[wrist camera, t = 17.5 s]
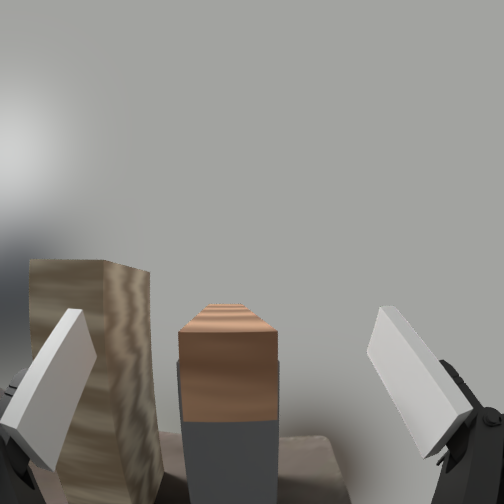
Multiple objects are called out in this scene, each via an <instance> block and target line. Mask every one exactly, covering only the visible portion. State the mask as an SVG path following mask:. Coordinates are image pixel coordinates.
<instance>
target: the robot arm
mask: <svg viewBox="0 0 504 504" xmlns="http://www.w3.org/2000/svg"><path fill="white" fill-rule="evenodd" d="M366 353H367V355H368V356H369V358H370V360H371V362H372V364H373V365H374V367H375V369H376V371H377V372H378V374H379V376H380V378H381V380H382V382H383V383H384V385H385V387H386V389H387V391H388V393H389V394H390V396H391V398H392V400H393V402H394V404H395V406H396V407H397V409H398V411H399V413H400V415H401V417H402V419H403V421H404V422H405V425H406V426H407V428H408V430H409V432H410V434H411V436H412V438H413V440H414V442H415V444H416V446H417V448H418V450H419V452H420V454H421V456H422V458H423V459H425V458H427V457H430V456H433V455H435V454H437V453H439V452H440V451H441V449H442V448H443V447H444V446H445V445H446V446H447V448H448V449H449V450H448V451H447V452H446V453H445V454H444V456H442V457H441V459H440V460H439V461H438V462H437V465H438V466H439V465H440V463H441V462H442V461H443V460H444V462H443V465H442V469H441V473H440V477H439V481H438V483H437V487H436V490H435V493H434V496H433V499H432V503H431V504H504V414H501V413H500V412H498V411H497V410H496V409H494V408H491V407H485V408H484V407H483V406H482V405H481V404H480V402H479V401H478V400H477V398H476V397H475V395H474V394H473V393H472V391H471V390H470V389H469V387H468V386H467V385H466V383H464V381H463V379H462V378H461V377H459V374H458V373H457V372H456V370H455V369H454V368H453V367H452V366H451V365H450V364H448V363H447V362H446V361H444V360H440V361H438V360H437V358H436V357H435V356H434V354H433V353H432V352H431V350H430V349H429V348H428V346H427V345H426V344H425V343H424V341H423V340H422V339H421V338H420V336H419V335H418V334H417V333H416V331H415V330H414V329H413V328H412V326H411V325H410V324H409V323H408V322H407V320H406V319H405V318H404V317H403V315H402V314H401V313H400V312H399V311H398V309H397V308H396V307H395V306H394V305H391V306H380V309H379V313H378V316H377V320H376V323H375V327H374V330H373V334H372V336H371V340H370V343H369V346H368V349H367V352H366ZM96 358H97V355H96V352H95V349H94V346H93V343H92V340H91V337H90V334H89V330H88V327H87V324H86V320H85V317H84V313H83V310H82V309H69V308H68V309H67V311H66V312H65V314H64V315H63V317H62V318H61V320H60V321H59V322H58V324H57V325H56V327H55V328H54V330H53V331H52V333H51V334H50V336H49V337H48V339H47V340H46V342H45V344H44V345H43V347H42V348H41V350H40V351H39V353H38V355H37V356H36V358H35V359H34V361H33V363H32V364H31V366H30V368H29V369H25V368H23V369H22V370H20V371H19V372H18V373H17V374H16V375H15V376H14V377H13V379H12V381H11V382H10V384H9V387H7V389H6V391H5V392H4V393H5V394H3V396H2V398H1V399H0V504H46V502H45V500H44V498H43V496H42V494H41V492H40V489H39V487H38V485H37V482H36V480H35V478H34V475H33V473H32V470H31V468H30V467H29V465H28V463H29V461H30V459H31V460H32V462H33V463H34V464H35V465H36V466H37V467H40V468H42V469H45V470H48V471H51V472H54V471H55V467H56V464H57V461H58V458H59V455H60V452H61V449H62V446H63V443H64V440H65V437H66V434H67V431H68V429H69V426H70V423H71V420H72V418H73V415H74V412H75V410H76V407H77V404H78V402H79V399H80V397H81V394H82V392H83V389H84V387H85V384H86V382H87V380H88V377H89V375H90V372H91V370H92V368H93V365H94V363H95V361H96Z"/></svg>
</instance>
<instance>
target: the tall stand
mask: <svg viewBox="0 0 504 504" xmlns="http://www.w3.org/2000/svg"><path fill="white" fill-rule="evenodd" d="M68 308H69V309H82V310H83V313H84V317H85V320H86V324H87V327H88V330H89V334H90V337H91V340H92V343H93V346H94V349H95V352H96V355H97V358H96V361H95V363H94V365H93V368H92V370H91V372H90V375H89V377H88V380H87V382H86V384H85V387H84V389H83V392H82V394H81V397H80V399H79V402H78V404H77V407H76V410H75V412H74V415H73V418H72V420H71V423H70V426H69V429H68V431H67V434H66V437H65V440H64V443H63V446H62V449H61V452H60V455H59V458H58V461H57V464H56V470H57V473H58V476H59V479H60V482H61V485H62V488H63V490H64V493H65V495H66V498H67V501H68V503H69V504H154V502H155V499H156V496H157V492H158V489H159V486H160V483H161V480H162V477H163V474H164V467H163V461H162V454H161V447H160V440H159V432H158V425H157V416H156V405H155V395H154V383H153V372H152V371H153V370H152V354H151V332H150V331H151V330H150V273H149V272H147V271H143V270H140V269H136V268H132V267H128V266H125V265H121V264H117V263H113V262H110V261H106V260H62V259H60V260H59V259H58V260H57V259H30V270H29V311H30V312H29V315H30V334H31V346H32V357H33V361H34V359H35V358H36V356H37V355H38V353H39V351H40V350H41V348H42V347H43V345H44V344H45V342H46V340H47V339H48V337H49V336H50V334H51V333H52V331H53V330H54V328H55V327H56V325H57V324H58V322H59V321H60V320H61V318H62V317H63V315H64V314H65V312H66V311H67V309H68Z"/></svg>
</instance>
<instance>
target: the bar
mask: <svg viewBox="0 0 504 504" xmlns="http://www.w3.org/2000/svg"><path fill="white" fill-rule="evenodd" d="M178 339H179V364H180V382H181V397H182V410H183V421H184V422H249V421H268V420H277V410H278V331H277V330H275V329H274V328H273V327H271V326H270V325H269V324H267V323H266V322H265V321H263V320H262V319H261V318H259V317H258V316H257V315H255V314H254V313H253V312H251V311H250V310H249V309H248V308H246V307H245V306H244V305H242V304H209V305H208V306H207V307H205V308H204V309H203V310H202V311H201V312H200V313H199V314H198V315H197V316H196V317H194V318H193V319H192V320H191V321H190V322H189V323H188V324H187V325H185V326H184V327H183V328H182V329H181V330H180V331H179V332H178Z"/></svg>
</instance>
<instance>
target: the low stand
mask: <svg viewBox="0 0 504 504" xmlns="http://www.w3.org/2000/svg"><path fill="white" fill-rule="evenodd" d="M177 380H178V395H179V409H180V420H181V431H182V441H183V450H184V459H185V467H186V475H187V482H188V489H189V496H190V502H191V504H277V484H278V447H279V361H278V410H277V420H268V421H249V422H184V421H183V410H182V397H181V382H180V364H179V360H178V362H177Z"/></svg>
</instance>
